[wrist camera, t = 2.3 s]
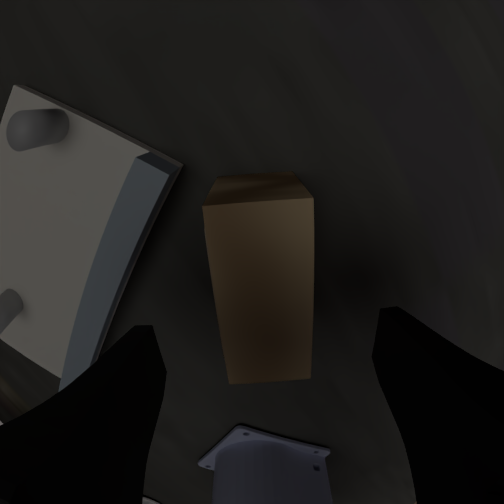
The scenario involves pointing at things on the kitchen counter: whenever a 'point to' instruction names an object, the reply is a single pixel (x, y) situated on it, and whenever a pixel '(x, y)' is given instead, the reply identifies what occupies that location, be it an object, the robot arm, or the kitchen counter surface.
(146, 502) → the white threaded pipe fitting
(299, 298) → the brown tapered block
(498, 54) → the kitchen counter surface
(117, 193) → the board
